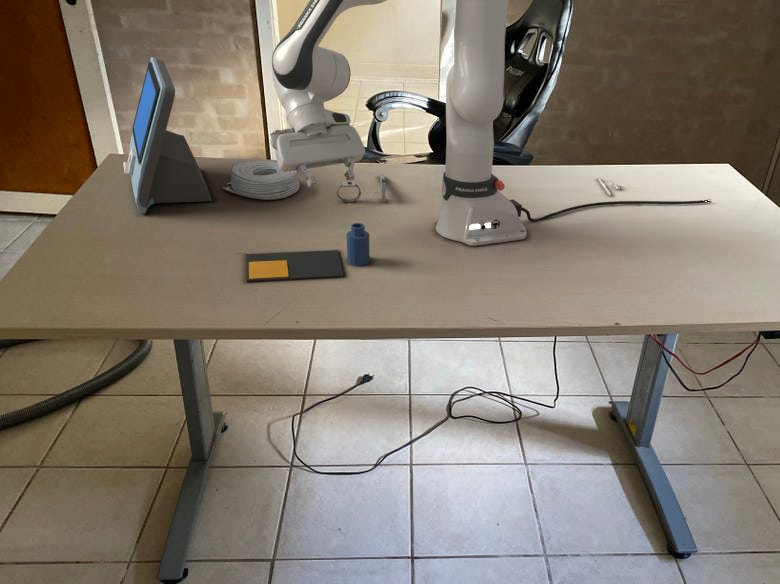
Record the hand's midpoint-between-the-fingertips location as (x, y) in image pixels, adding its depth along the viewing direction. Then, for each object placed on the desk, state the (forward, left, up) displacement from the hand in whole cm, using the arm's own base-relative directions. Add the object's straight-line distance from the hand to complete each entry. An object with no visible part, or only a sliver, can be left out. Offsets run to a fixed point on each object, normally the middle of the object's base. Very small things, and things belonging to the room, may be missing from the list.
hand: (332, 182), depth 163 cm
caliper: (-16, -34, -15) cm, 41 cm away
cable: (+15, -36, -15) cm, 42 cm away
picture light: (-83, -31, -15) cm, 90 cm away
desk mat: (+10, +11, -15) cm, 21 cm away
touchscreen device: (+40, -39, -15) cm, 58 cm away
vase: (-4, +10, -15) cm, 18 cm away
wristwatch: (-6, -26, -15) cm, 31 cm away
